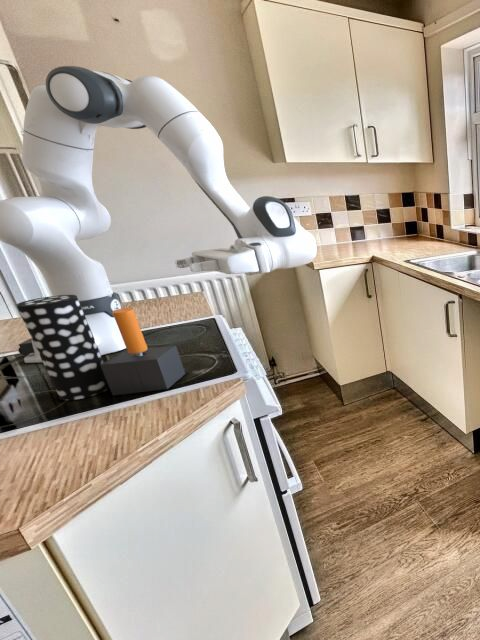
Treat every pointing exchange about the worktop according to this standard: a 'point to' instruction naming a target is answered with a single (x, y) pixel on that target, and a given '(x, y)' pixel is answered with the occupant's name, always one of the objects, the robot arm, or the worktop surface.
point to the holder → (143, 370)
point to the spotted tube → (65, 345)
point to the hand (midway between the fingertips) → (183, 266)
